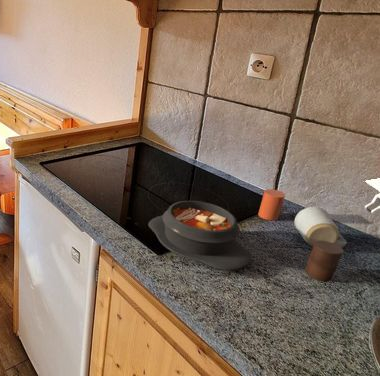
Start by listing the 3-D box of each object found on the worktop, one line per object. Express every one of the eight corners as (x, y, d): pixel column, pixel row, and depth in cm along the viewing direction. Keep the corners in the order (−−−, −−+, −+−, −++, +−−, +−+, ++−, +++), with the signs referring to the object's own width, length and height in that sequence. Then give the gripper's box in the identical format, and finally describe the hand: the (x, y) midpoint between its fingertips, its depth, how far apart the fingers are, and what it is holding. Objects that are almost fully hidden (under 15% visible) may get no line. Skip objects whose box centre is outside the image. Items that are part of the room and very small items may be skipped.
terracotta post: (273, 212, 113) (280, 189, 110) (281, 221, 108) (288, 197, 105) (255, 211, 113) (261, 188, 110) (262, 220, 108) (269, 196, 106)
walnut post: (324, 268, 89) (334, 241, 86) (337, 282, 85) (348, 254, 82) (300, 266, 89) (310, 239, 87) (312, 280, 85) (322, 252, 82)
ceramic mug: (301, 248, 96) (312, 220, 93) (290, 230, 103) (299, 204, 100) (350, 254, 94) (363, 226, 91) (335, 236, 102) (346, 209, 98)
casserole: (130, 232, 101) (134, 202, 98) (181, 214, 110) (186, 186, 107) (214, 287, 82) (222, 253, 79) (267, 260, 91) (277, 228, 88)
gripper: (392, 150, 99) (338, 184, 104) (462, 185, 81) (391, 225, 86) (405, 167, 101) (350, 200, 106) (476, 206, 82) (406, 243, 87)
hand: (369, 211), depth 96 cm, fingers closed
